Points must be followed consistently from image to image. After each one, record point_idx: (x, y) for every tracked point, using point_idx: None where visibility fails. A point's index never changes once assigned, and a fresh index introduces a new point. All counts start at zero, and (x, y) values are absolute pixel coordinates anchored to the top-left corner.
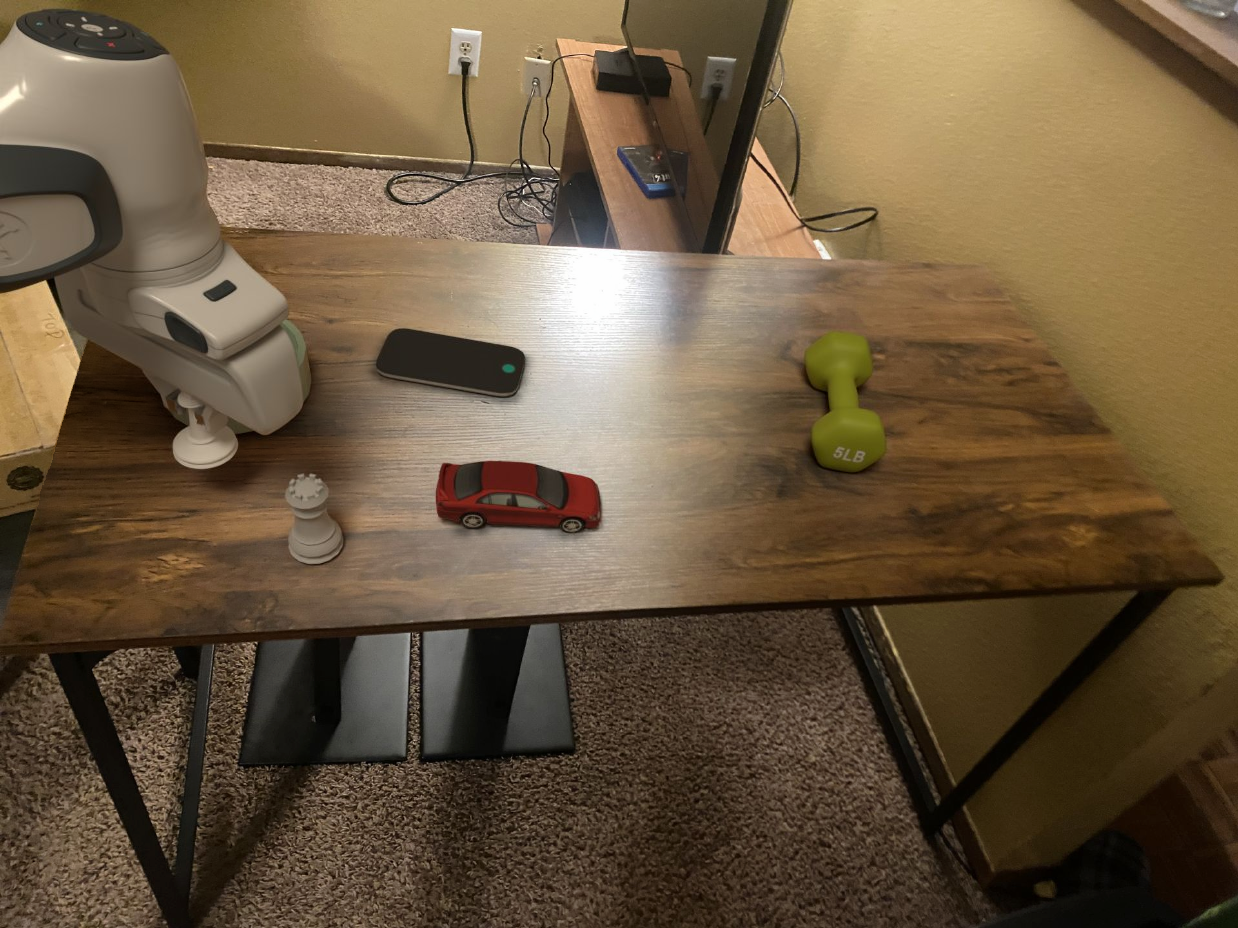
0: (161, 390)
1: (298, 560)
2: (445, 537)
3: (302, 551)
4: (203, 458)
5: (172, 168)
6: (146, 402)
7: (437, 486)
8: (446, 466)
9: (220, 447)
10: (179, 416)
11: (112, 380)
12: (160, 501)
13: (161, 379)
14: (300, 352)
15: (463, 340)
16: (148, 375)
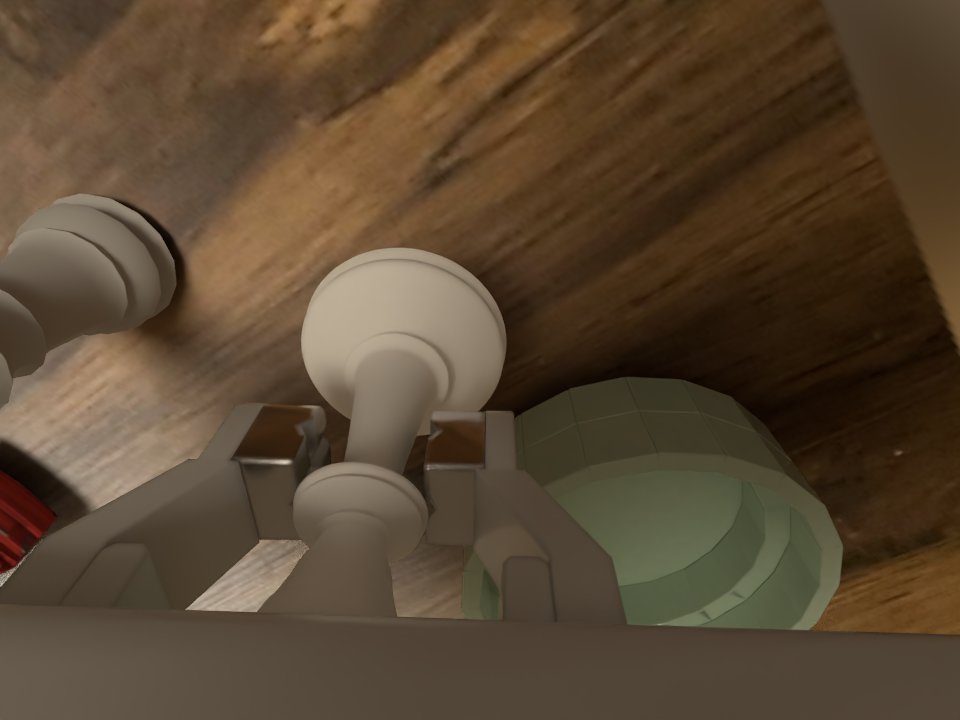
0: (493, 492)
1: (82, 194)
2: None
3: (46, 213)
4: (329, 301)
5: None
6: (783, 381)
7: (8, 510)
8: (5, 563)
9: (325, 365)
10: (666, 388)
11: (901, 392)
12: (532, 159)
13: (328, 623)
14: None
15: None
16: (564, 555)
